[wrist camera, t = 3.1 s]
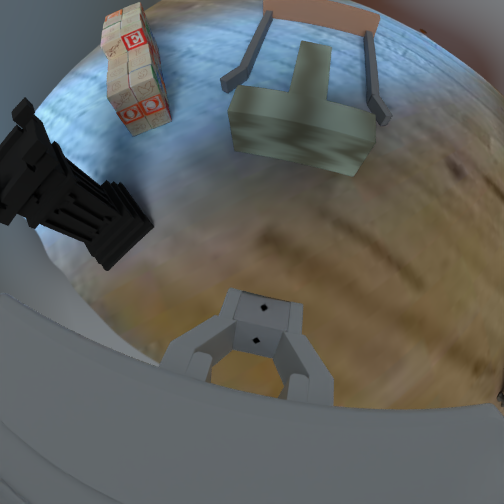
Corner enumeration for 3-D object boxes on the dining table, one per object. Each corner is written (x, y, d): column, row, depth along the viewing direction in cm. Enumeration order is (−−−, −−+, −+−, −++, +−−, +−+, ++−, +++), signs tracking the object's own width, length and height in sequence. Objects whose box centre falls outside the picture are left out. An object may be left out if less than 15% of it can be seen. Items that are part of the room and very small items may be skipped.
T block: (357, 94, 34) (372, 58, 26) (353, 176, 31) (375, 142, 24) (260, 74, 35) (259, 34, 27) (234, 150, 33) (227, 110, 25)
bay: (377, 37, 37) (384, 16, 31) (386, 128, 33) (402, 103, 27) (260, 12, 39) (259, -10, 33) (220, 92, 35) (215, 63, 29)
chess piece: (108, 271, 30) (-25, 230, 11) (81, 225, 32) (-30, 164, 12) (154, 227, 31) (43, 138, 11) (122, 184, 32) (28, 91, 13)
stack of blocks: (173, 122, 34) (145, 59, 22) (133, 138, 34) (94, 83, 22) (158, 48, 38) (140, 0, 26) (127, 60, 38) (104, 15, 26)
